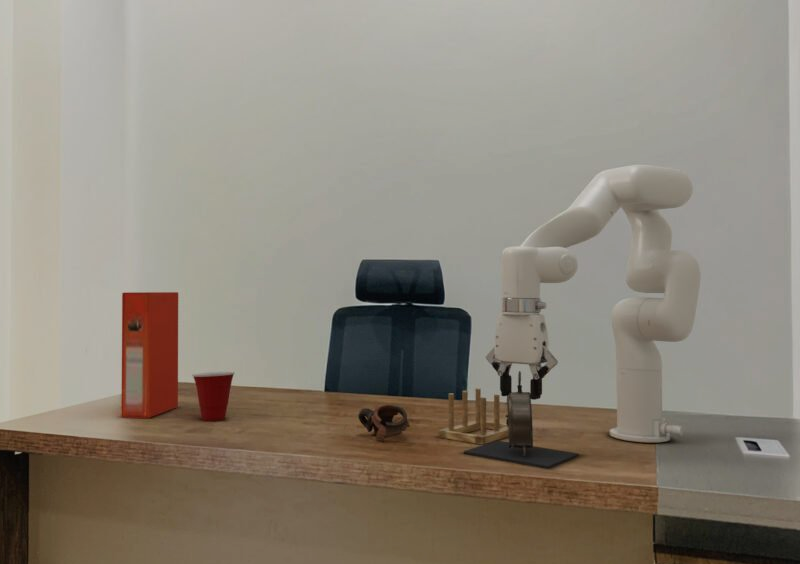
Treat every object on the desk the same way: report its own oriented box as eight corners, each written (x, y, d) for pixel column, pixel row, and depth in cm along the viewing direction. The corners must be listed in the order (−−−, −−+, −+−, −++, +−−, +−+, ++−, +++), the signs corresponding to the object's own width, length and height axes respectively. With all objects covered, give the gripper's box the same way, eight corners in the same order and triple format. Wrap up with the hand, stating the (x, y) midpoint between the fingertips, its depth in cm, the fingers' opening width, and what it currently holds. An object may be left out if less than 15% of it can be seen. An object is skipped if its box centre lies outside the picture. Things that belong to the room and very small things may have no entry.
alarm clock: (533, 459, 137) (534, 374, 138) (504, 457, 139) (505, 373, 139) (531, 446, 148) (532, 368, 148) (505, 444, 149) (505, 367, 150)
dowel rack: (520, 432, 166) (520, 391, 166) (483, 444, 152) (483, 399, 153) (478, 426, 173) (478, 386, 173) (438, 437, 160) (438, 394, 160)
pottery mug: (410, 435, 163) (415, 407, 160) (398, 461, 156) (403, 433, 152) (362, 419, 167) (366, 391, 163) (347, 443, 159) (351, 415, 155)
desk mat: (578, 455, 142) (578, 453, 142) (548, 468, 132) (548, 466, 132) (497, 442, 154) (497, 440, 154) (464, 453, 144) (463, 451, 144)
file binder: (120, 417, 182) (122, 292, 183) (150, 406, 199) (152, 292, 200) (149, 418, 180) (151, 292, 181) (177, 407, 197) (179, 292, 198)
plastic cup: (219, 413, 188) (219, 368, 188) (243, 419, 180) (243, 371, 180) (183, 418, 180) (183, 371, 181) (206, 424, 173) (206, 375, 173)
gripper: (569, 308, 141) (569, 399, 141) (491, 306, 153) (491, 391, 152) (553, 308, 136) (553, 404, 135) (473, 306, 147) (473, 394, 146)
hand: (520, 396), depth 143 cm, fingers closed on alarm clock, 5 cm apart
